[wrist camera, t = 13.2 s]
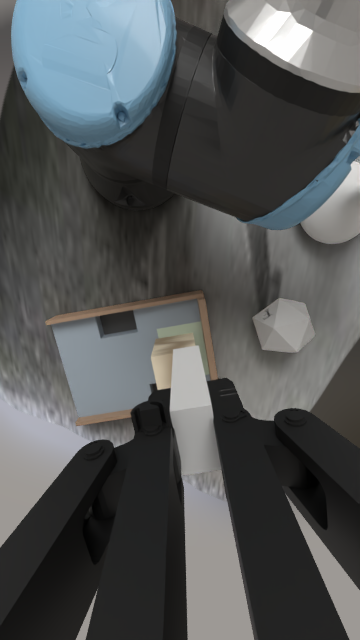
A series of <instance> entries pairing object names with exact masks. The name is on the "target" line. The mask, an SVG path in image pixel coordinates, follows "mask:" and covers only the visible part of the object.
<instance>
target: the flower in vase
mask: <svg viewBox="0 0 360 640" xmlns="http://www.w3.org/2000/svg"><path fill="white" fill-rule="evenodd" d="M351 169H352V170H351V171H350V173H349V174H348V176H347V177H346V178H345V180H344V181H343V182H342V184H341V185H340V186H339V188H338V189H337V190H336V191H335V192H334V193H333V195H332V196H331V197H330V198H329V199H328V200H327V201H326V202H325V203H324V204H323V205H322V206H321V207H320V208H319V209H318V210H317V211H315V212H314V213H313V214H312V215H311V216H310V217H308V218H307V219H305V220H304V221H302V222H301V225H302V227H303V229H304V230H305V232H306V233H307V234H308V235H309V236H310V237H312V238H313V239H315V240H316V241H319V242H322V243H325V244H338V243H343V242H346V241H348V240H350V239H352V238H354V237H355V236H357V235H358V234H359V233H360V163H357V162H354V161H353V162H352V163H351Z"/></svg>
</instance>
